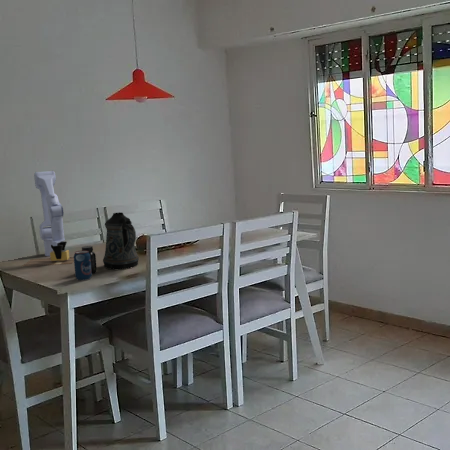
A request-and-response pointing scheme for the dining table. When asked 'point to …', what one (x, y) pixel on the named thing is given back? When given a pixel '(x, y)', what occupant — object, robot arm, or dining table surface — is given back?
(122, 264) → the beer stein
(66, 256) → the block
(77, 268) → the soda can
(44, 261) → the board
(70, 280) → the dining table surface
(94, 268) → the supplement bottle
